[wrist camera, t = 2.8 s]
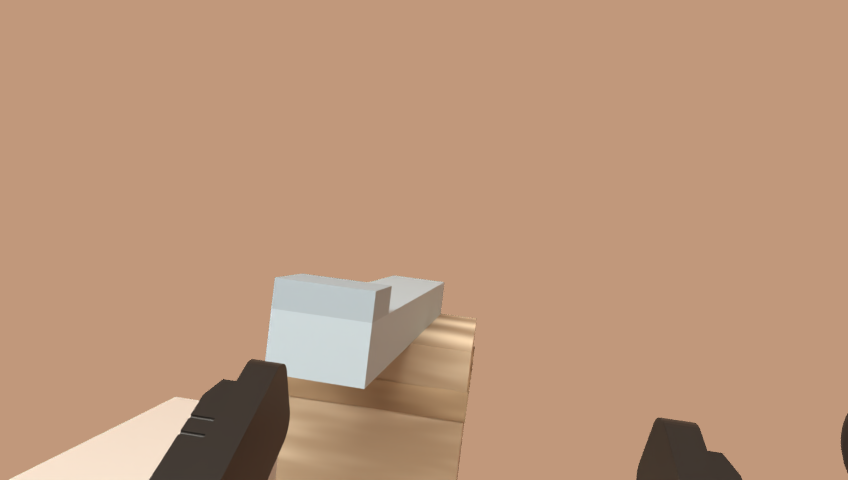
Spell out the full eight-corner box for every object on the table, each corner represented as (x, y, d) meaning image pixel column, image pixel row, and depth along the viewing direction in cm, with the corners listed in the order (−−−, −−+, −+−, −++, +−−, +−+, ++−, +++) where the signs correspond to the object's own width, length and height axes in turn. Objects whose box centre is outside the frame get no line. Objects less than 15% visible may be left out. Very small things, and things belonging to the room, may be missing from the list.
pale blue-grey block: (390, 307, 47) (395, 260, 47) (440, 314, 46) (446, 266, 46) (263, 372, 23) (275, 277, 23) (364, 389, 22) (375, 291, 22)
